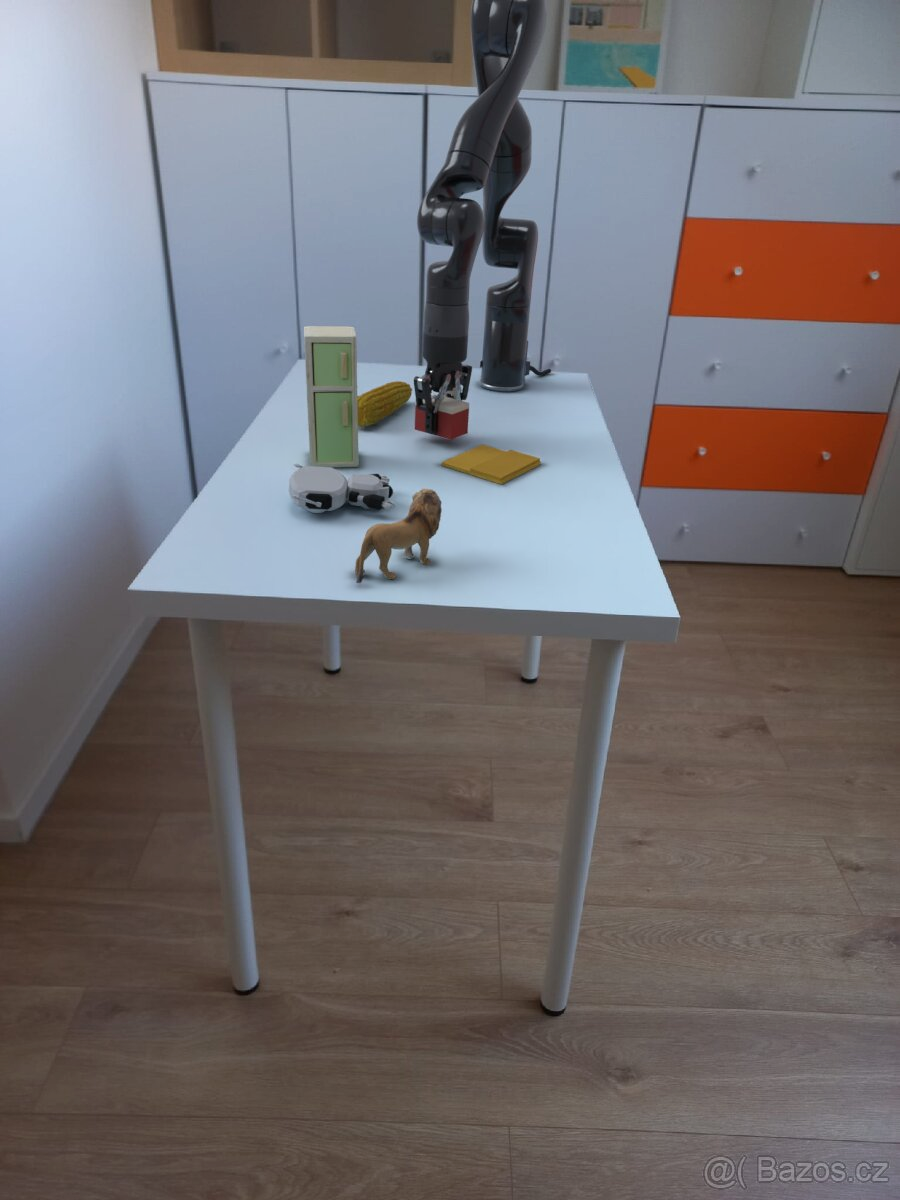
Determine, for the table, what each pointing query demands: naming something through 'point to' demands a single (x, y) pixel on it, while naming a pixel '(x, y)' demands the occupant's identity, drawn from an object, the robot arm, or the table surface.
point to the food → (382, 402)
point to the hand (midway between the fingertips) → (441, 429)
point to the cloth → (492, 463)
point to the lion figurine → (403, 533)
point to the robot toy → (338, 489)
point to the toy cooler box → (447, 418)
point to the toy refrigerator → (332, 395)
